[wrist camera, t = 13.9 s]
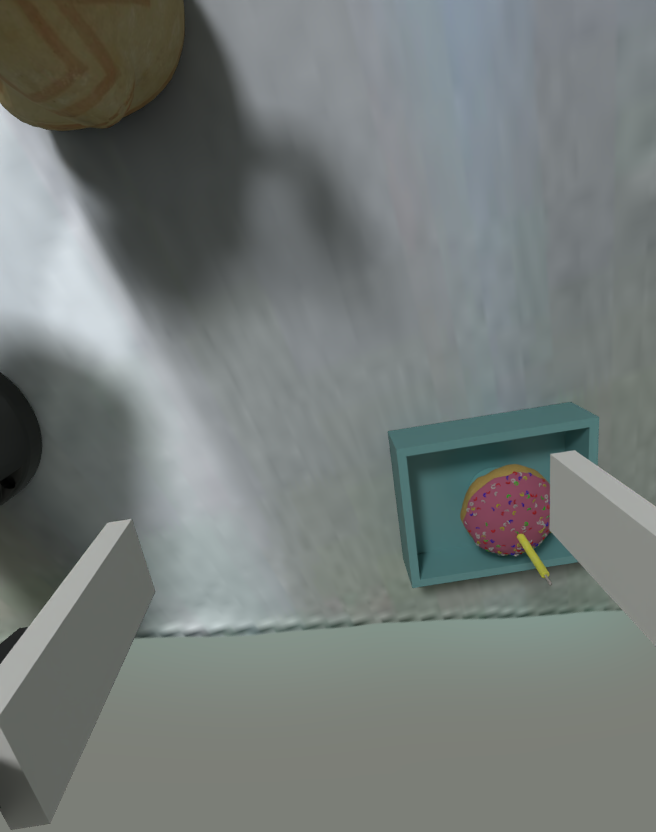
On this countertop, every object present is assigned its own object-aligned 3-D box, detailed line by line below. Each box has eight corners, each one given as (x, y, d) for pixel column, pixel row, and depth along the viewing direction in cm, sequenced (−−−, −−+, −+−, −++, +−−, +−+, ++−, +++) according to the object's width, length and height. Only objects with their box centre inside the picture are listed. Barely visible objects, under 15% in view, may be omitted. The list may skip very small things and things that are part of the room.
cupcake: (534, 517, 47) (607, 597, 36) (452, 533, 47) (498, 618, 36) (530, 440, 44) (606, 501, 33) (443, 457, 45) (488, 523, 33)
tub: (403, 559, 49) (412, 588, 44) (387, 431, 44) (396, 449, 40) (569, 533, 48) (594, 559, 44) (570, 402, 44) (599, 417, 40)
